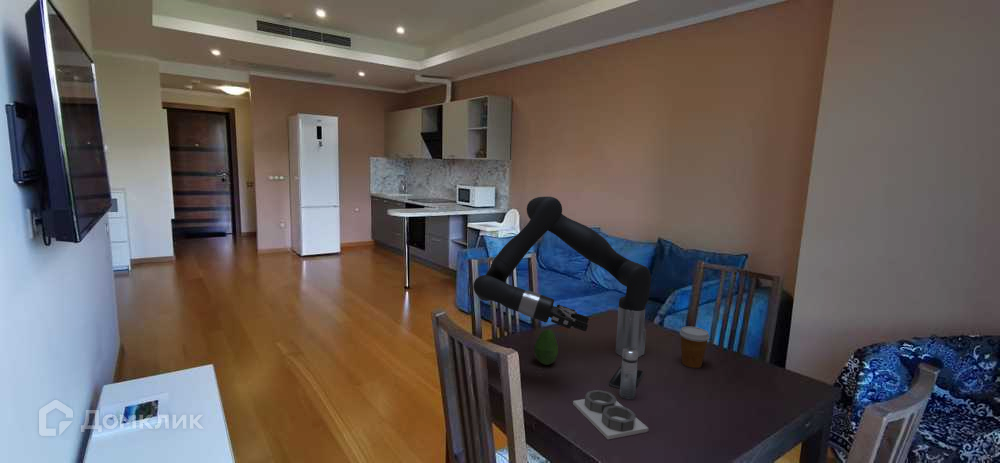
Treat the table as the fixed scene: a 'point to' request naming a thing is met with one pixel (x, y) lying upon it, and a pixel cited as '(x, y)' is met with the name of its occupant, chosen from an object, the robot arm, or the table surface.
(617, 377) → the phone
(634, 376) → the tube
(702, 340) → the disposable coffee cup
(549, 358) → the avocado
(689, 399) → the table surface
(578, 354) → the table surface
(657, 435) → the table surface
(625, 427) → the hex nut holder
